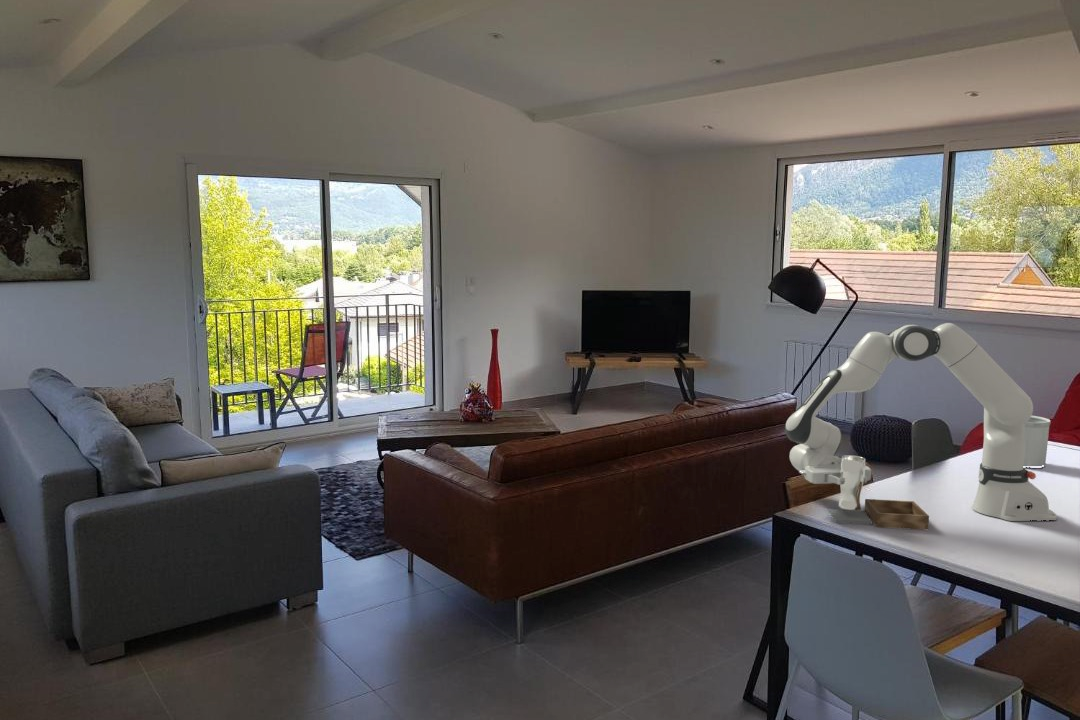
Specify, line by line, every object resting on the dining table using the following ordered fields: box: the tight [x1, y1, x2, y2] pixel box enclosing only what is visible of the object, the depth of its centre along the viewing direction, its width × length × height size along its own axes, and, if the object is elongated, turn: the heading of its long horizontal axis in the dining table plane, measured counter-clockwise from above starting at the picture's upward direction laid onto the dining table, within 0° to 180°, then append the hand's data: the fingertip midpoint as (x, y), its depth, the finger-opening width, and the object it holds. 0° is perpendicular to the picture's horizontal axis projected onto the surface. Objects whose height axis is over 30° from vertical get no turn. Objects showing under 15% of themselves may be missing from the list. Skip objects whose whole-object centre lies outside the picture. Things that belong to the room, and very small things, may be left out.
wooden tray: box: [863, 498, 930, 530], centre depth 246 cm, size 14×14×4 cm
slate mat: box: [827, 508, 873, 525], centre depth 247 cm, size 10×10×1 cm
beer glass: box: [837, 454, 866, 510], centre depth 246 cm, size 7×7×15 cm
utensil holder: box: [1023, 415, 1052, 466], centre depth 311 cm, size 15×15×18 cm
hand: (853, 481), depth 245 cm, fingers closed on beer glass, 6 cm apart
